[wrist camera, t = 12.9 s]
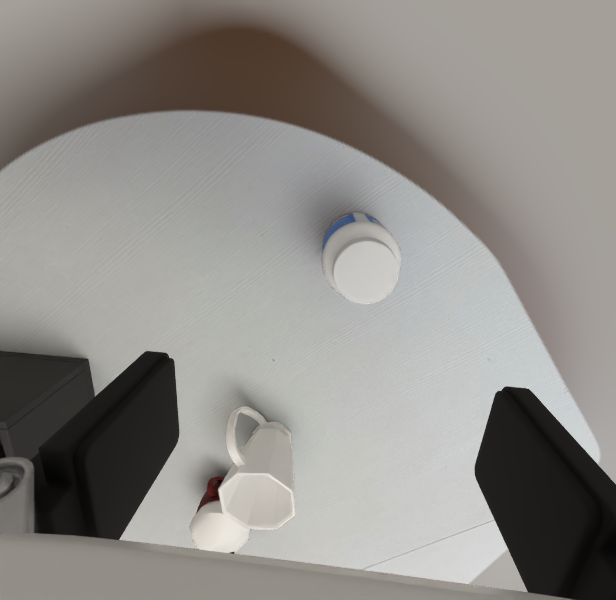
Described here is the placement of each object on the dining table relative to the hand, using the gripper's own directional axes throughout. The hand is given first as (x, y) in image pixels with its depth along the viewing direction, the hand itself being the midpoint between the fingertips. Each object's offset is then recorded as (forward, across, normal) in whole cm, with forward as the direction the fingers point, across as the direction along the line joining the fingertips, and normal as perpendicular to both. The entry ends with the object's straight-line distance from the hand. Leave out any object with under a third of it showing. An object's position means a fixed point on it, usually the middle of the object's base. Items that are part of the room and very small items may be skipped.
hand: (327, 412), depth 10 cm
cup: (+22, +6, +19) cm, 30 cm away
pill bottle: (+22, -2, -1) cm, 22 cm away
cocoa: (+22, +9, +29) cm, 38 cm away
